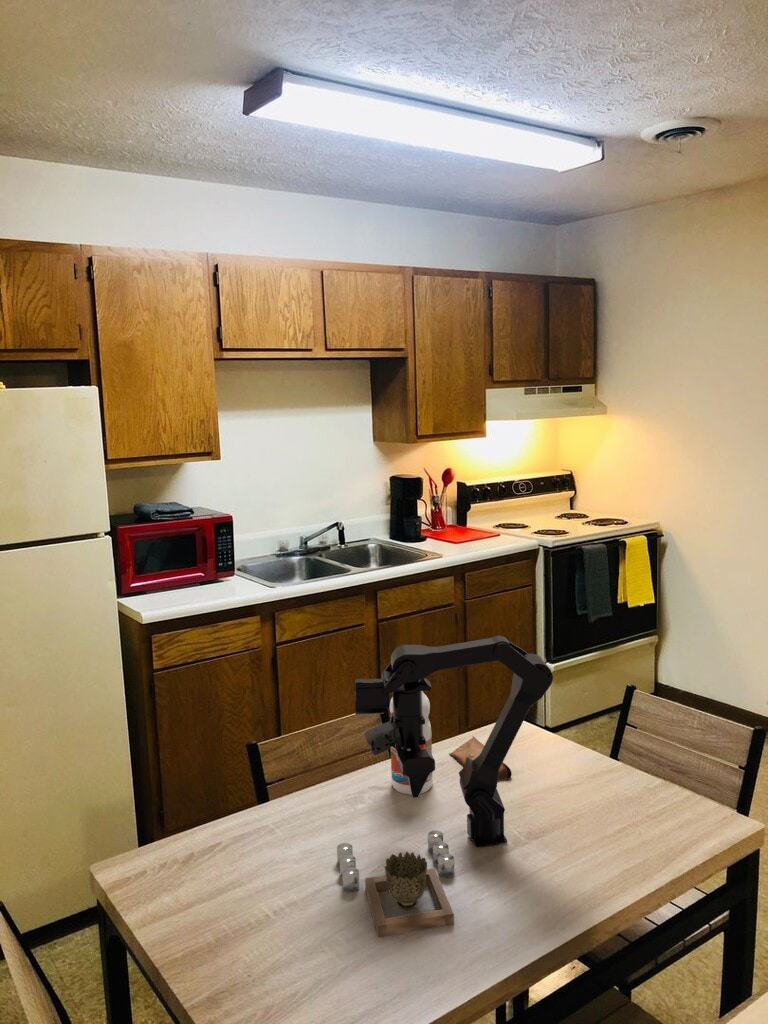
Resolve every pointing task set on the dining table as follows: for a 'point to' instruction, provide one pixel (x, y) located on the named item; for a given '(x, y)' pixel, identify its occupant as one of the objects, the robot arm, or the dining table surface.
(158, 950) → the dining table surface
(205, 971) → the dining table surface
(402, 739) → the robot arm
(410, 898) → the ornate brass lampshade
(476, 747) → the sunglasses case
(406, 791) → the white plastic bottle
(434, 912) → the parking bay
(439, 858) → the spacer posts
